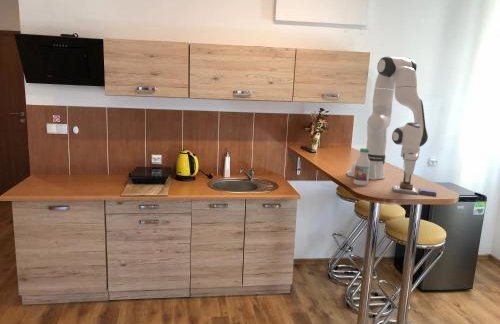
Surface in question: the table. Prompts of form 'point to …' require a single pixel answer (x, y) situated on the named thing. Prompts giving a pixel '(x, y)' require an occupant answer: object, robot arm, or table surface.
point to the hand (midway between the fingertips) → (406, 179)
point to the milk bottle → (362, 168)
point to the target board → (405, 190)
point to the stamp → (406, 183)
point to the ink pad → (427, 192)
